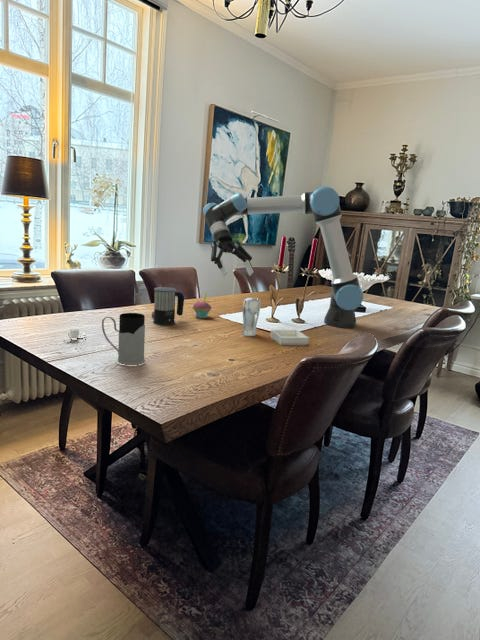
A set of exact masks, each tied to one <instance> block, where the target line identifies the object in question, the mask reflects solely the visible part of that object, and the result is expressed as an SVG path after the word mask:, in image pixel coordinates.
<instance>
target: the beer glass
mask: <svg viewBox="0 0 480 640" xmlns="http://www.w3.org/2000/svg"><path fill="white" fill-rule="evenodd" d="M260 311H261V298H257V297H250V296H249V297H244V298H243V304H242V321H243V324H242V325H243V326H242V332H241V335H242V336H243V337H249V338H252V337H256V336H257V324H258V319H259V317H260Z"/></svg>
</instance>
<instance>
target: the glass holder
mask: <svg viewBox="0 0 480 640" xmlns="http://www.w3.org/2000/svg"><path fill="white" fill-rule="evenodd" d="M145 317H146V316H145V314H142V313H138V312H126V313H125V312H124V313H120V314H119V324H118V325H119V326H118V327H119V328H118V329H117V323H116V320H115V319H114V318H113V317H112V316H105V317H104V318H103V319H102V321H101V330H102V333H103V335H104V338H105V340H106V341H107V342H108V343H109V344H110V345H111V347H113V348H114V349H115V350H116V351H117V354H118V357H117V360H118V362H119V363H121V364H125V365H139V364H142V363H144V362H145V363H146V359H145V340H146V339H145V337H146V336H145V333H146V325H145V323H146V322H145V320H146V319H145ZM106 319H110V320H111V321H112V322H113V328H114V330H115V331H116V332H118V348H117V346H115V345H114V343H112V341H111V340H110V339H109V338H108V336H107V334H106V331H105V325H104V323H105V320H106Z"/></svg>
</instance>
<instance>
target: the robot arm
mask: <svg viewBox="0 0 480 640" xmlns="http://www.w3.org/2000/svg"><path fill="white" fill-rule="evenodd" d="M282 213H283V214H287V213H288V214H289V213H303V215H313V219H314V223H315V224H316V225H318V226H319V228H320V232H321V236H322V240H323V243H324V247H325V251H326V255H327V256H326V257H327V259H328V261H329V267H330V271H331V274H332V277H333V278H332V280H331V282H330V284H331V295H330V302H329V308H328V309H327V311H326V314H325V316H324V319H323V323H325V324H326V325H328V326H331V327H335V328H336V327H337V328H343V329H345V328H346V329H350V328H356V326H357V320H356V319H357V318H356V313H355V309H357V308H359V307H360V306H361V304H362V303H363V299H364V292H363V291H362V288H361V286H360V283H359V282H360V281H359V279H358V275H356V274H354V273H353V270H352V269H353V268H352V265H351V262H350V258H349V254H348V249H347V245H346V241H345V238H344V232H343V229H342V226H341V221H340V220H341V218H342V215H343V213H342V210H341V206H340V196H339V193H338V192H337V191H336V190H335V189H334V188H333V187H330V186H321V187H318V188H317V189H315V190H313V191H309V192H303V193H302V194H298V195H297V194H296V195H293V194H291V195H277V196H261V197H244V195H243V194H242V193H241V192H237V193H236V194H233V195H231V197H229V198H227V199H225V200H224V201H222V202H221V203H219V204H218V203H216V202H210V203H207V204H206V205H205V206H204V207H203V209H202V214H203V215H204V217H203V218H204V220H205V221H206V224H207V225H208V228H209V231H210V233H211V237H213V242H212V243H211V244H210V245H211V255H210V261H211V262H213V263H214V265H216V266H217V268H218V269H219V270H220V271H221V274H222V277H226V275H227V274H228V270H227V267H226V265H225V263H224V260H223V259H221V258H222V256H223V253H225V254H227V253H229V254H231V255H234V256H235V257H237V258H238V259H240V260H241V261H242V262H243V265H244V267H245V269H246V272H247V274H248V276H249V277H251V276H252V275H253V273H254V270H253V267H252V263H251V262H252V260H253V257H252V256H251V254H250V253H248V252H247V250H246V249H245V248H244V247H243V246H242V245H241V243H240V242H239V241H237V242H236V243H235V242H234V241H233V235H232V234H231V232H230V229H229V227H228V225H227V223H226V221H227V220H229V219H231V218H233V217H234V216H245V215H246V216H247V215H265V214H282ZM218 249H219V252H218ZM217 252H218V254H217Z"/></svg>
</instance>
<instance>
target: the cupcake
mask: <svg viewBox="0 0 480 640" xmlns="http://www.w3.org/2000/svg"><path fill="white" fill-rule="evenodd" d="M206 298H207V292H205V294H204V297H203V301H197V302H195V303H194V304H193V305H192V310H194V312H195V316H196V318H200V319H206V318H207V317H208V316H209V315H208V314H209V313H210V311H211V310H212V306H211V305H210V304H209V302H206Z"/></svg>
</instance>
